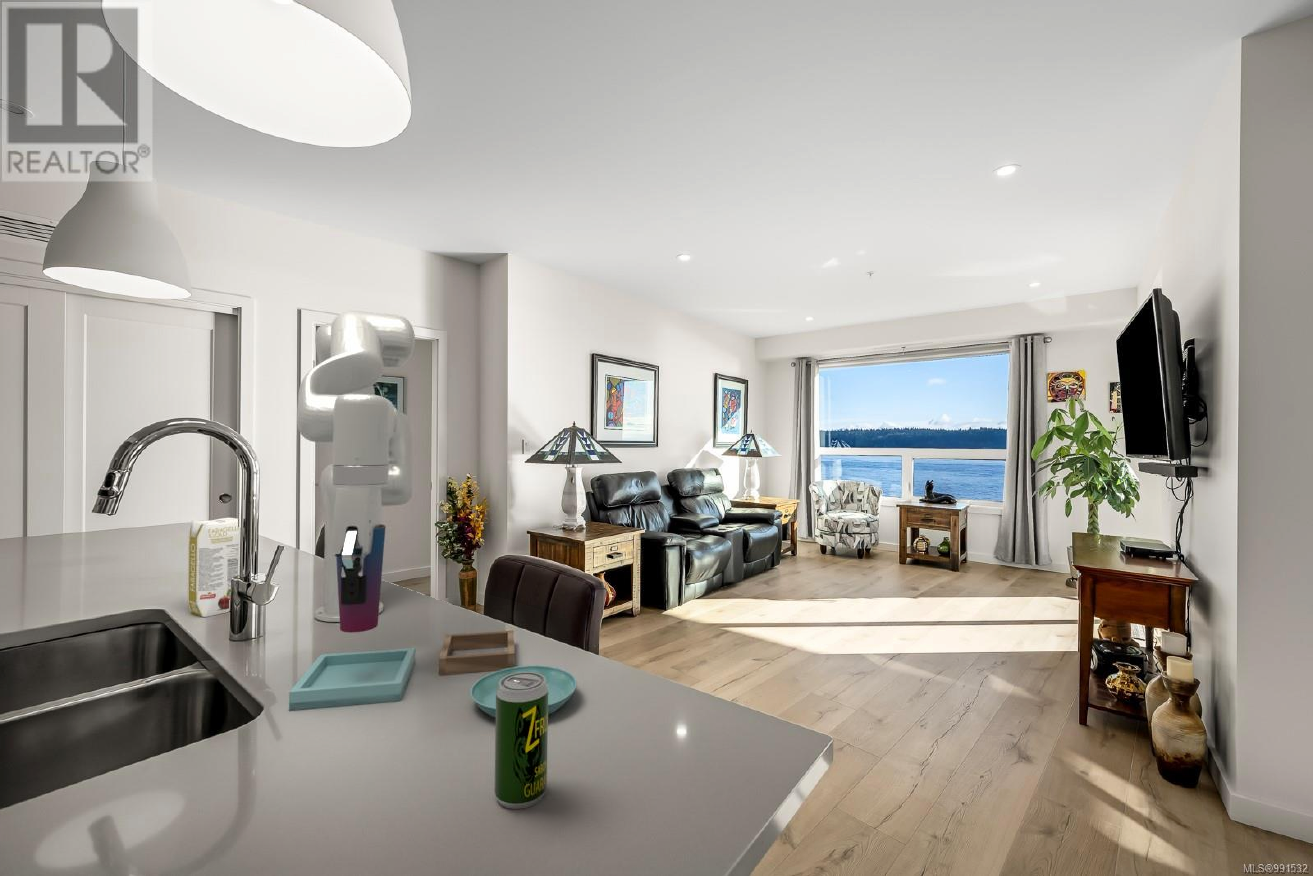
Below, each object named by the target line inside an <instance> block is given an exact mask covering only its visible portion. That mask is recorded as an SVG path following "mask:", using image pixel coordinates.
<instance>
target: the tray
mask: <svg viewBox="0 0 1313 876" xmlns="http://www.w3.org/2000/svg"><path fill="white" fill-rule="evenodd" d="M415 665H416V648H415V647H413V648H400V649H399V648H397V649H384V650H382V649H381V650H370V651H369V650H367V651H366V650H365V651H356V652H355V651H353V652H339V653H337V652H336V653H325V654H324V653H323V654H320V655H319V656H318V657H317V658H316V660H315V661H314V662H313V663H312V664H311V666H309V668H308V669H307V670H306V672H305V673H304V674H303V675H302V676H301V678H300V679H299V680H298V681H297V683H295V685H294V686H293V687H292V688H291V689H290V690H289V692H288V693H289V695H288V711H290V712H291V711H298V710H300V711H301V710H311V709H323V708H334V707H343V706H354V705H355V706H358V705H368V704H381V703H391V702H400V701H401V699H402V697H403V695H404V692H405V689H406V688H407V686H408V682H409V679H410V677H411V675H412V672H413V670H414V668H415Z"/></svg>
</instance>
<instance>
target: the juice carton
mask: <svg viewBox="0 0 1313 876" xmlns="http://www.w3.org/2000/svg"><path fill="white" fill-rule="evenodd" d="M238 519H239V518H237V517H223V518H217V519H213V520H191V522H190V524H189V530H188V537H187V541H188V544H187V603H188V609H189V611H190V613H192V614H195V615H196V616H199V617H202V618H207V617H213V616H216V615H222V614H225V613H230V612H229V600H230V592H231V580H232V578H233V577H234V576H235V575H237V574H238V548H239V527H238Z"/></svg>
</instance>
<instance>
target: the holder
mask: <svg viewBox="0 0 1313 876" xmlns="http://www.w3.org/2000/svg"><path fill="white" fill-rule="evenodd" d="M514 634H515V633H514V630H501V631H486V632H485V631H484V632H472V633H471V632H470V633H469V632H468V633H453V634H445V638H444V641H443V644H442V647H441V650H440V654H439V657H438V676H443V675H458V674H469V673H480V672H482V673H483V672H496V671H500V670H503V669H507V668H513V667H515V639H514V637H515V636H514ZM492 648H493V649H494V648H495V649H496V648H507V651H504V652H503V651H502V652H501V651H500V652H489V653H487V652H485V653H475V654H461V655H451V654H452V652H453V651H464V650H466V651H467V650H479V649H481V650H483V649H492Z"/></svg>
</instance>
